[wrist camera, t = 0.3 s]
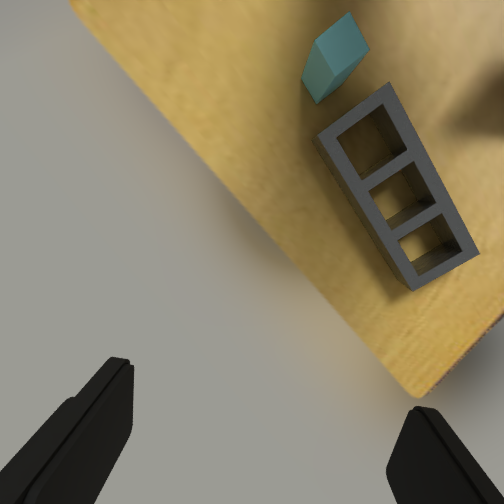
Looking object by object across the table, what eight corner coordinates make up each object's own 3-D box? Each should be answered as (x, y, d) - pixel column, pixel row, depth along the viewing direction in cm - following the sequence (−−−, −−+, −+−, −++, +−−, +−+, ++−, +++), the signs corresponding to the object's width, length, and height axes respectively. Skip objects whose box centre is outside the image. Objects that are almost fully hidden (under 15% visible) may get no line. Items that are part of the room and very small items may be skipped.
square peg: (325, 58, 31) (349, 11, 23) (341, 85, 32) (369, 49, 23) (300, 78, 32) (314, 40, 23) (316, 104, 33) (335, 76, 24)
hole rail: (374, 93, 32) (389, 81, 28) (457, 246, 37) (480, 253, 33) (311, 140, 34) (317, 135, 30) (397, 280, 38) (412, 291, 34)
